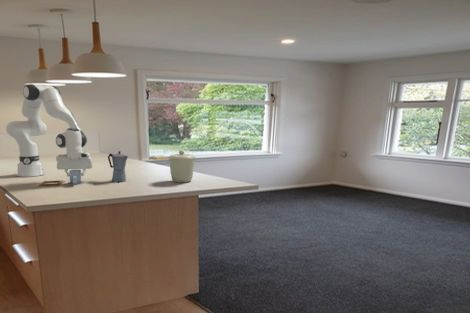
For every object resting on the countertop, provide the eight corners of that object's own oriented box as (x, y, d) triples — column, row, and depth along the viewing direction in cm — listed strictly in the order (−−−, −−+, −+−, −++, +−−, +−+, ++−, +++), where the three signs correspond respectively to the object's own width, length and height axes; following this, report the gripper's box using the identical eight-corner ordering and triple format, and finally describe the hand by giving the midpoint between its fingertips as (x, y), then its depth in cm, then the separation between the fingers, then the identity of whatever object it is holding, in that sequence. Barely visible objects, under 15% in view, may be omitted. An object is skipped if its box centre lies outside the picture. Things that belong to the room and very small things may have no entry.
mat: (69, 183, 210) (68, 181, 210) (85, 182, 212) (85, 180, 212) (65, 186, 200) (65, 184, 200) (83, 185, 203) (83, 184, 203)
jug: (70, 182, 207) (69, 169, 206) (81, 181, 210) (80, 169, 208) (69, 186, 195) (68, 173, 194) (81, 186, 198) (80, 173, 197)
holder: (43, 183, 209) (43, 180, 209) (66, 182, 213) (65, 179, 213) (35, 188, 193) (35, 185, 193) (60, 187, 197) (59, 184, 196)
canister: (182, 177, 232) (181, 148, 229) (201, 180, 222) (201, 149, 219) (162, 181, 217) (162, 150, 215) (182, 185, 207) (181, 152, 204)
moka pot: (125, 182, 212) (124, 152, 210) (103, 181, 215) (102, 151, 213) (132, 180, 222) (131, 150, 219) (112, 179, 225) (111, 150, 222)
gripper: (54, 155, 198) (56, 177, 200) (91, 154, 204) (92, 176, 206) (57, 154, 204) (58, 175, 206) (92, 153, 210) (93, 174, 212)
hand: (75, 176), depth 206 cm, fingers open, 7 cm apart
